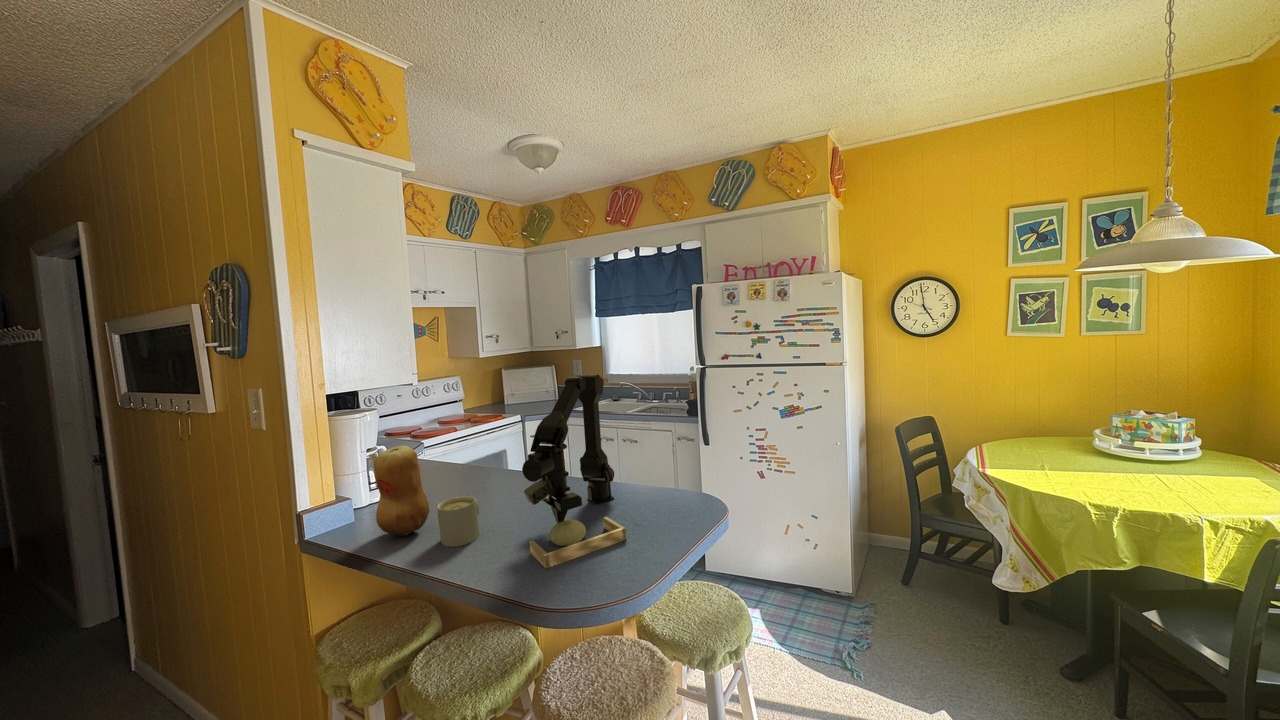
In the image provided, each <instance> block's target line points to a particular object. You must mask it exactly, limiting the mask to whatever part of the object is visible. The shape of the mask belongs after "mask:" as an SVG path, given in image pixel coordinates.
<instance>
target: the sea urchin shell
mask: <svg viewBox="0 0 1280 720" xmlns="http://www.w3.org/2000/svg"><path fill="white" fill-rule="evenodd" d="M586 533H587V529H586V526H585V523H582V522H581V521H579V520H577V519H566V520H564V521H563V522H560V523H558V524H557V523H556V524H554V525H553V526H552V528H551V530H550V532H549V538H550V541H551V543H553V544H554V545H556V546H559V547H560V546H561V547H567V546H570V545H573V544H576V543H579V542H582V541H583V540H584V538H585V536H586Z"/></svg>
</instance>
